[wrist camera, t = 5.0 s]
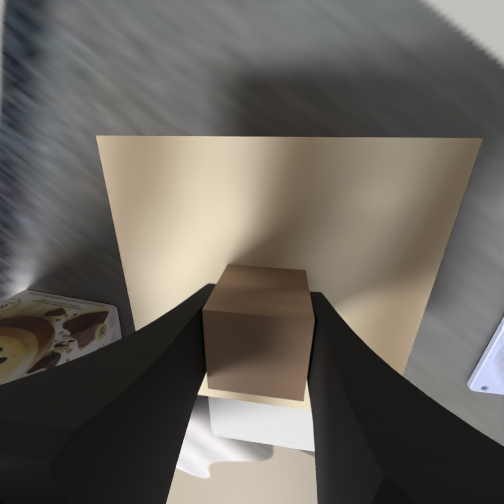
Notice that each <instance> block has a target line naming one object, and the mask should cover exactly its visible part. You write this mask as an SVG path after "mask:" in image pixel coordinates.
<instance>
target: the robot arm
mask: <svg viewBox="0 0 504 504" xmlns="http://www.w3.org/2000/svg"><path fill="white" fill-rule="evenodd" d="M215 286H216V284H213V283H208V284H206V285H205V286H203V287H202V288H201V289H199V290H198V291H197V292H195V293H194V294H193V295H191V296H190V297H188V298H187V299H186V300H184V301H183V302H182V303H180V304H179V305H177V306H176V307H174V308H173V309H171V310H170V311H168V312H167V313H165V314H164V315H162V316H161V317H159V318H158V319H156V320H154V321H153V322H151V323H149V324H148V325H146V326H144V327H142V328H141V329H139V330H137V331H135V332H133V333H131V334H129V335H128V336H126V337H124V338H121V339H119V340H117V341H115V342H113V343H111V344H108V345H106V346H104V347H102V348H100V349H98V350H96V351H93V352H91V353H89V354H86V355H84V356H81V357H79V358H76V359H74V360H71V361H68V362H66V363H63V364H61V365H58V366H55V367H53V368H50V369H47V370H44V371H41V372H38V373H35V374H32V375H29V376H26V377H23V378H20V379H17V380H14V381H11V382H8V383H4V384H1V385H0V504H166V501H167V497H168V494H169V490H170V486H171V482H172V479H173V475H174V472H175V468H176V464H177V461H178V457H179V454H180V450H181V447H182V443H183V440H184V436H185V433H186V429H187V426H188V423H189V419H190V416H191V413H192V409H193V406H194V403H195V400H196V398H197V395H198V392H199V390H200V387H201V385H202V382H203V380H204V377H205V375H206V372H207V369H206V355H205V342H204V328H203V314H202V309H203V307H204V305H205V304H206V302H207V300H208V298H209V296H210V295H211V293H212V291H213V289H214V288H215ZM310 297H311V302H312V308H313V313H314V318H315V323H314V330H313V337H312V344H311V352H310V359H309V366H308V373H307V385H308V391H309V398H310V404H311V411H312V420H313V433H314V448H315V463H316V480H317V500H318V504H504V446H502V445H500V444H499V443H497V442H496V441H494V440H492V439H491V438H489V437H488V436H486V435H484V434H483V433H481V432H480V431H478V430H477V429H475V428H474V427H472V426H471V425H469V424H468V423H466V422H465V421H463V420H462V419H460V418H459V417H457V416H456V415H454V414H453V413H452V412H450V411H449V410H447V409H446V408H444V407H443V406H441V405H440V404H439V403H437V402H436V401H434V400H433V399H432V398H430V397H429V396H428V395H426V394H425V393H424V392H422V391H421V390H420V389H418V388H417V387H416V386H414V385H413V384H412V383H411V382H409V381H408V380H407V379H405V378H404V377H403V376H402V375H400V374H399V373H398V372H397V371H396V370H394V369H393V368H392V367H391V366H390V365H389V364H387V363H386V362H385V361H384V360H383V359H382V358H381V357H380V356H378V355H377V354H376V353H375V352H374V351H373V350H372V349H371V348H370V347H369V346H368V345H367V344H366V343H365V342H364V341H363V340H362V339H361V338H360V337H359V336H358V335H357V334H356V333H355V332H354V331H353V330H352V329H351V328H350V326H349V325H348V324H347V323H346V322H345V321H344V320H343V318H342V317H341V316H340V315H339V314H338V312H337V311H336V310H335V309H334V307H333V306H332V305H331V303H330V302H329V301H328V300H327V298H326V297H325V296H324V295H323V293H322V292H312V291H310ZM467 385H468V386H469V388H470V389H471V390H473V391H478V392H486V393H495V394H503V395H504V317H503V319H502V321H501V323H500V324H499V326H498V328H497V330H496V332H495V333H494V335H493V337H492V339H491V341H490V343H489V344H488V346H487V348H486V350H485V352H484V353H483V355H482V357H481V359H480V361H479V363H478V364H477V366H476V368H475V370H474V372H473V374H472V375H471V377H470V379H469V381H468V383H467Z"/></svg>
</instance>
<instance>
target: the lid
mask: <svg viewBox="0 0 504 504" xmlns="http://www.w3.org/2000/svg"><path fill="white" fill-rule="evenodd" d="M96 138H97V143H98V148H99V153H100V158H101V162H102V167H103V172H104V177H105V182H106V187H107V192H108V197H109V202H110V207H111V212H112V217H113V222H114V226H115V231H116V236H117V241H118V246H119V251H120V256H121V261H122V266H123V271H124V276H125V281H126V285H127V290H128V295H129V300H130V305H131V310H132V315H133V320H134V325H135V330H136V331H137V330H139V329H141V328H142V327H144V326H146V325H148V324H149V323H151V322H153V321H154V320H156V319H158V318H159V317H161V316H162V315H164V314H165V313H167V312H168V311H170V310H171V309H173V308H174V307H176V306H177V305H179V304H180V303H182V302H183V301H184V300H186V299H187V298H188V297H190V296H191V295H193V294H194V293H195V292H197V291H198V290H199V289H201V288H202V287H203V286H205V285H206V284H208V283H213V284H216V286H215V288H214V289H213V291H212V293H211V295H210V296H209V298H208V300H207V302H206V304H205V305H204V307H203V309H202V314H203V328H204V342H205V355H206V369H207V372H206V375H205V377H204V380H203V382H202V385H201V387H200V390H199V392H198V395H204V396H211V397H218V398H225V399H232V400H239V401H247V402H254V403H261V404H268V405H275V406H282V407H290V408H297V409H304V410H311V404H310V398H309V391H308V385H307V373H308V366H309V359H310V352H311V344H312V337H313V330H314V323H315V318H314V313H313V308H312V302H311V297H310V291H312V292H322V293H323V295H324V296H325V297H326V298H327V300H328V301H329V302H330V303H331V305H332V306H333V307H334V309H335V310H336V311H337V312H338V314H339V315H340V316H341V317H342V318H343V320H344V321H345V322H346V323H347V324H348V325H349V326H350V328H351V329H352V330H353V331H354V332H355V333H356V334H357V335H358V336H359V337H360V338H361V339H362V340H363V341H364V342H365V343H366V344H367V345H368V346H369V347H370V348H371V349H372V350H373V351H374V352H375V353H376V354H377V355H378V356H380V357H381V358H382V359H383V360H384V361H385V362H386V363H387V364H389V365H390V366H391V367H392V368H393V369H394V370H396V371H397V372H398V373H399V374H400V375H402V376H403V373H404V370H405V367H406V364H407V361H408V358H409V355H410V352H411V349H412V346H413V343H414V340H415V337H416V334H417V332H418V329H419V326H420V323H421V320H422V317H423V314H424V311H425V308H426V305H427V302H428V299H429V296H430V293H431V290H432V287H433V284H434V282H435V279H436V276H437V273H438V270H439V267H440V264H441V261H442V258H443V255H444V252H445V249H446V246H447V243H448V240H449V237H450V234H451V232H452V229H453V226H454V223H455V220H456V217H457V214H458V211H459V208H460V205H461V202H462V199H463V196H464V193H465V190H466V187H467V184H468V182H469V179H470V176H471V173H472V170H473V167H474V164H475V161H476V158H477V155H478V152H479V149H480V146H481V143H482V140H483V138H387V137H225V136H96Z"/></svg>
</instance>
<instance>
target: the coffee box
mask: <svg viewBox="0 0 504 504" xmlns="http://www.w3.org/2000/svg"><path fill="white" fill-rule="evenodd" d="M121 338H122V335H121V329H120V322H119V316H118V310H117V307H115V306H114V305H109V304H103V303H97V302H92V301H86V300H81V299H75V298H70V297H64V296H58V295H53V294H47V293H42V292H37V291H31V290H24V291H22V292H20V293H18V294H16V295H14V296H12V297H11V298H9V299H7V300H5V301H3V302H1V303H0V385H1V384H4V383H8V382H11V381H14V380H17V379H20V378H23V377H26V376H29V375H32V374H35V373H38V372H41V371H44V370H47V369H50V368H53V367H55V366H58V365H61V364H63V363H66V362H68V361H71V360H74V359H76V358H79V357H81V356H84V355H86V354H89V353H91V352H93V351H96V350H98V349H100V348H102V347H104V346H106V345H108V344H111V343H113V342H115V341H117V340H119V339H121Z"/></svg>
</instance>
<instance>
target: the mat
mask: <svg viewBox="0 0 504 504" xmlns="http://www.w3.org/2000/svg"><path fill="white" fill-rule="evenodd" d="M208 400H209V410H210V421H211V431H212V435H214V436H220V437H226V438H232V439H239V440H245V441H251V442H258V443H264V444H270V445H277V446H284V447H289V448H295V449H302V450H308V451H314V452H315V448H314V433H313V420H312V411H311V410H304V409H297V408H290V407H282V406H275V405H268V404H261V403H254V402H247V401H239V400H232V399H225V398H218V397H211V396H208Z"/></svg>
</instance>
